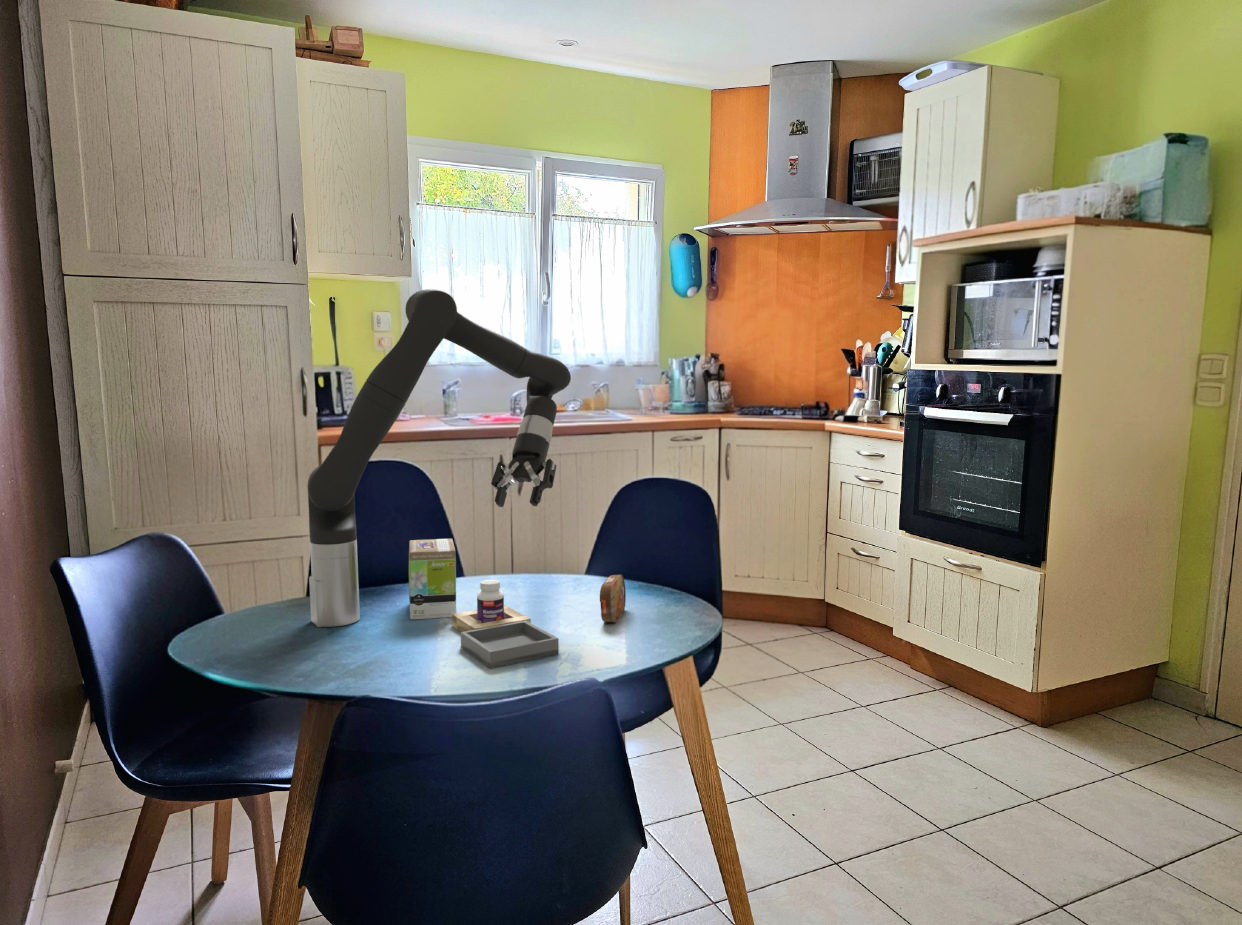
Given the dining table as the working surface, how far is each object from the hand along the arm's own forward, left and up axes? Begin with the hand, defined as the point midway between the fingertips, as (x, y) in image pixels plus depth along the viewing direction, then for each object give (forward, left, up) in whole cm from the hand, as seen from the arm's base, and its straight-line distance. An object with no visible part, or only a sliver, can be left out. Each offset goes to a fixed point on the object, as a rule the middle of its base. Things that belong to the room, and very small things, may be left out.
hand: (516, 505), depth 175 cm
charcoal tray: (-12, -21, -24) cm, 34 cm away
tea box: (-14, +14, -24) cm, 31 cm away
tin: (+16, -13, -24) cm, 32 cm away
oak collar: (-9, -6, -24) cm, 26 cm away
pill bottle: (-9, -6, -24) cm, 26 cm away
